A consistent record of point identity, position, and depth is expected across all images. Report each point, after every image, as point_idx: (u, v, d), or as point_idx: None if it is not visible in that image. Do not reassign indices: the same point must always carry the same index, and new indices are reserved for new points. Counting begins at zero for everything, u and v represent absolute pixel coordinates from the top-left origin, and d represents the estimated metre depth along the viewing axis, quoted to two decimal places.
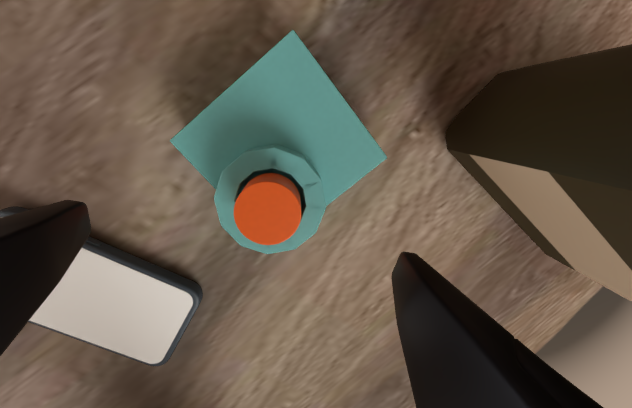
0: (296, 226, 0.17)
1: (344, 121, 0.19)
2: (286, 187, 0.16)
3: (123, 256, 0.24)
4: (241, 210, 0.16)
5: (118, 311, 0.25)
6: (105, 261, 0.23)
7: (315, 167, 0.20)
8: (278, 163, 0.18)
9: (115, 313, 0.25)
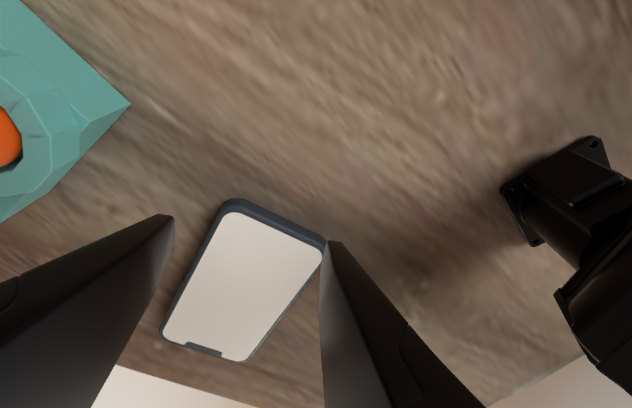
0: None
1: None
2: None
3: None
4: None
5: (251, 278, 0.24)
6: (193, 280, 0.24)
7: None
8: None
9: (254, 280, 0.24)
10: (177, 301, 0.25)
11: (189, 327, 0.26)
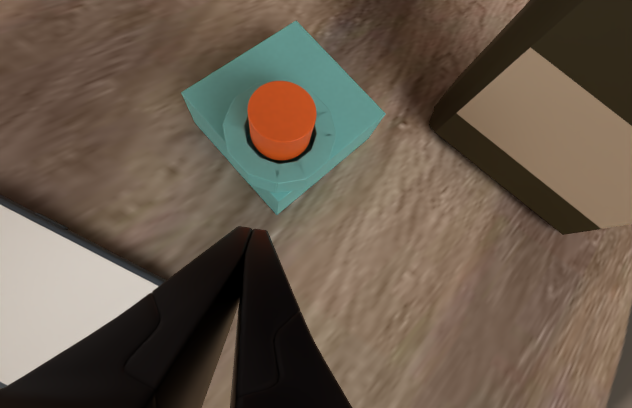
0: (312, 123, 0.16)
1: (343, 83, 0.22)
2: (301, 87, 0.17)
3: (90, 242, 0.20)
4: (256, 105, 0.16)
5: (60, 321, 0.18)
6: (67, 244, 0.19)
7: None
8: None
9: (55, 325, 0.18)
10: (28, 218, 0.19)
11: None
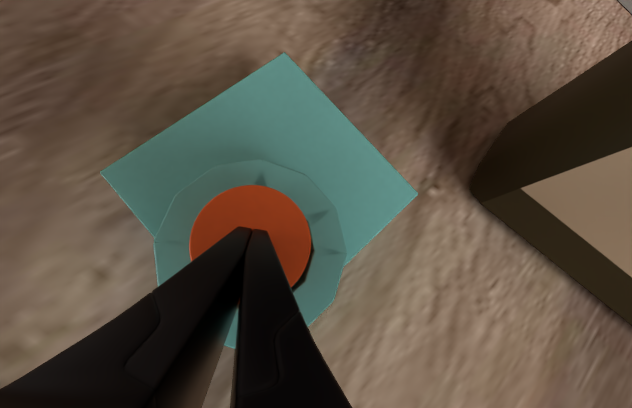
0: (303, 263, 0.09)
1: (354, 148, 0.14)
2: (284, 195, 0.10)
3: None
4: (205, 234, 0.09)
5: None
6: None
7: None
8: (268, 181, 0.11)
9: None
10: None
11: None
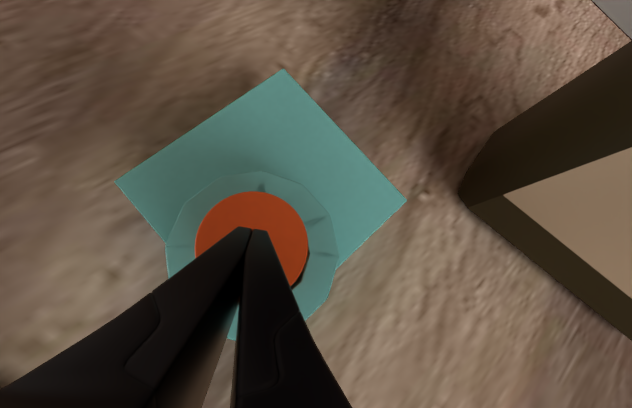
0: (301, 264, 0.10)
1: (348, 157, 0.16)
2: (283, 200, 0.10)
3: None
4: (209, 237, 0.10)
5: None
6: None
7: None
8: (268, 191, 0.13)
9: None
10: None
11: None
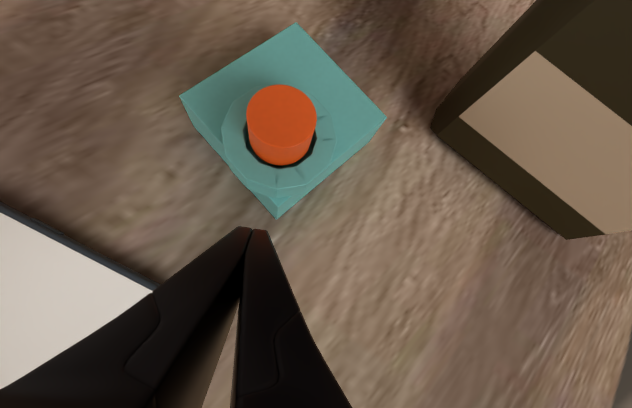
0: (312, 128, 0.16)
1: (343, 86, 0.21)
2: (300, 91, 0.16)
3: (87, 248, 0.19)
4: (255, 109, 0.15)
5: (55, 329, 0.18)
6: (62, 250, 0.19)
7: None
8: None
9: (50, 332, 0.17)
10: (24, 223, 0.19)
11: None
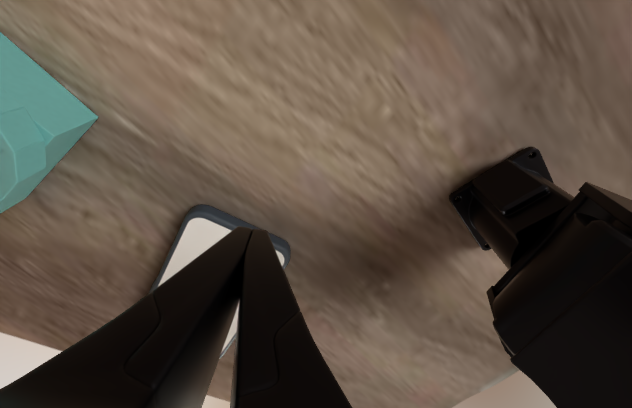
0: None
1: None
2: None
3: (162, 266, 0.25)
4: None
5: None
6: (164, 281, 0.25)
7: None
8: None
9: None
10: None
11: None
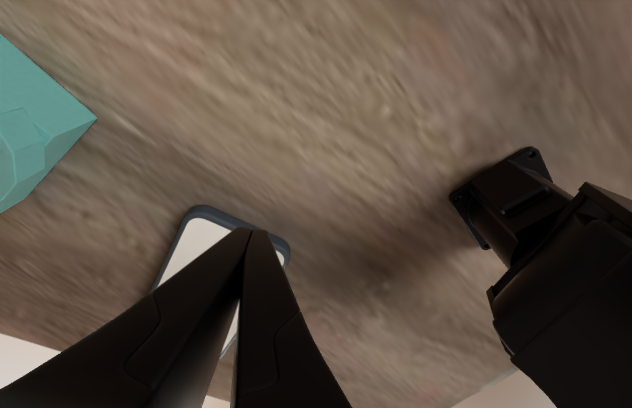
0: None
1: None
2: None
3: (162, 267, 0.25)
4: None
5: None
6: (163, 281, 0.25)
7: None
8: None
9: None
10: None
11: None
